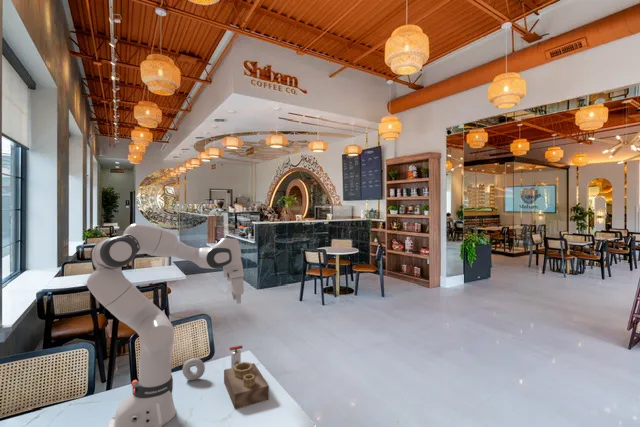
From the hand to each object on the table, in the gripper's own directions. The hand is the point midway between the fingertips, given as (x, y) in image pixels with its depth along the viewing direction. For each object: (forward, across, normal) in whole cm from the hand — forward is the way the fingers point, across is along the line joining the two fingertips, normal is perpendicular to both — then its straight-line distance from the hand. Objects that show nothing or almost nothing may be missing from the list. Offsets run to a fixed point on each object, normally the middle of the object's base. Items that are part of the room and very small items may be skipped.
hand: (236, 301), depth 152 cm
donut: (+34, -10, -22) cm, 42 cm away
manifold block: (+37, +9, -2) cm, 38 cm away
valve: (+36, -9, -3) cm, 37 cm away
